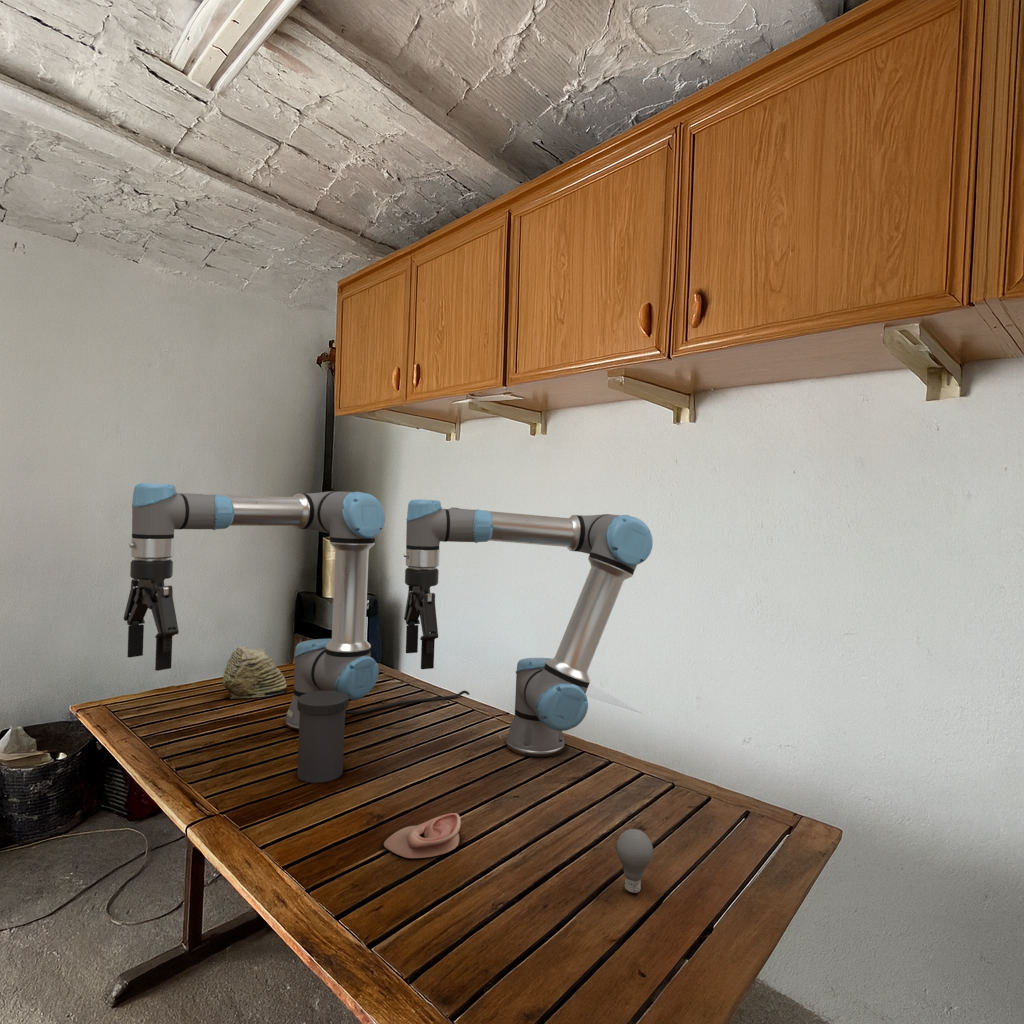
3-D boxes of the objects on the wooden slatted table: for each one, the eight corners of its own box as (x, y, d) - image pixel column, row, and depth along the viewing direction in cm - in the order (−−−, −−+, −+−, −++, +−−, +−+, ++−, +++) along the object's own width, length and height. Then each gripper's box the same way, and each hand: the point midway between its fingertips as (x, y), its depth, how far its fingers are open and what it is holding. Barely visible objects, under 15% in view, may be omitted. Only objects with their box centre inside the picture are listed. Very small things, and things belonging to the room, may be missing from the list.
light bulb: (610, 879, 108) (613, 822, 108) (644, 879, 109) (647, 822, 109) (619, 902, 102) (622, 840, 102) (655, 901, 103) (658, 840, 103)
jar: (351, 773, 146) (354, 700, 145) (312, 787, 138) (315, 710, 138) (327, 760, 152) (329, 690, 152) (288, 772, 145) (291, 699, 144)
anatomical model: (377, 831, 113) (401, 802, 124) (376, 853, 113) (400, 822, 124) (448, 842, 110) (466, 811, 122) (447, 865, 111) (465, 832, 122)
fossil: (218, 695, 195) (220, 647, 195) (278, 685, 208) (279, 640, 207) (228, 703, 189) (230, 653, 188) (289, 692, 201) (290, 645, 201)
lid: (357, 707, 145) (358, 698, 145) (314, 718, 137) (314, 709, 137) (330, 696, 153) (330, 687, 153) (287, 706, 144) (287, 697, 144)
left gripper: (108, 554, 134) (104, 654, 134) (159, 565, 118) (155, 678, 119) (146, 552, 140) (143, 648, 140) (199, 563, 124) (195, 671, 124)
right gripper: (393, 561, 153) (390, 647, 154) (420, 575, 131) (417, 677, 131) (423, 560, 156) (420, 645, 157) (455, 574, 134) (451, 674, 134)
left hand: (148, 662), depth 129 cm, fingers open, 13 cm apart
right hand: (419, 660), depth 144 cm, fingers open, 13 cm apart
